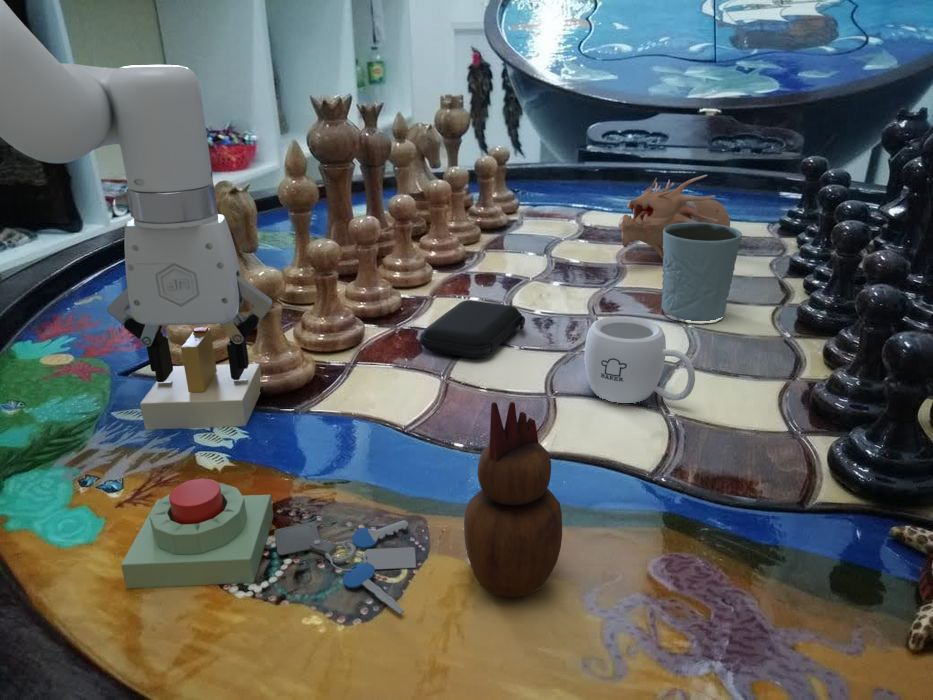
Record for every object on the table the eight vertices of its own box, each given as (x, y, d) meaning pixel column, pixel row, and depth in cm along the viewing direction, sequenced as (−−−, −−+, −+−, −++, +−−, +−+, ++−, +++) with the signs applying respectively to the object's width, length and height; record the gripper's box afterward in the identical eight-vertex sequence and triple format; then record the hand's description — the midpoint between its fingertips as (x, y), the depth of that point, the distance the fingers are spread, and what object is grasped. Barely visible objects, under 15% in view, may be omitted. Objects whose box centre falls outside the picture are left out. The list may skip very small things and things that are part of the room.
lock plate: (144, 430, 73) (139, 402, 72) (172, 390, 82) (167, 364, 80) (246, 426, 74) (242, 398, 73) (263, 387, 82) (259, 361, 81)
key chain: (257, 547, 56) (256, 538, 56) (331, 495, 63) (331, 487, 62) (400, 621, 49) (399, 611, 49) (468, 554, 55) (467, 545, 55)
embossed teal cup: (733, 308, 106) (745, 226, 101) (724, 331, 97) (737, 243, 92) (662, 298, 109) (671, 219, 105) (648, 320, 101) (656, 235, 96)
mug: (568, 399, 79) (572, 331, 76) (601, 371, 86) (605, 308, 83) (677, 428, 73) (686, 356, 70) (703, 396, 80) (712, 329, 77)
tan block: (204, 392, 74) (196, 344, 72) (188, 392, 74) (180, 345, 72) (217, 371, 79) (210, 326, 77) (202, 371, 79) (194, 326, 77)
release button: (166, 527, 53) (162, 507, 52) (180, 498, 56) (177, 479, 56) (216, 525, 53) (213, 505, 52) (228, 496, 56) (225, 477, 56)
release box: (126, 589, 52) (115, 543, 51) (161, 521, 60) (153, 479, 58) (254, 583, 53) (247, 538, 51) (273, 516, 60) (268, 475, 58)
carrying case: (493, 367, 87) (533, 326, 99) (493, 343, 86) (534, 305, 98) (413, 353, 91) (462, 315, 103) (413, 330, 90) (462, 294, 102)
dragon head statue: (737, 175, 130) (696, 167, 110) (738, 260, 132) (698, 268, 112) (664, 183, 138) (613, 177, 117) (666, 263, 140) (616, 271, 119)
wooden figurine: (478, 618, 49) (479, 423, 43) (455, 564, 54) (453, 382, 49) (571, 598, 51) (583, 407, 45) (540, 547, 56) (548, 370, 50)
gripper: (62, 215, 65) (102, 394, 72) (260, 212, 66) (280, 389, 73) (96, 198, 72) (129, 363, 79) (274, 195, 73) (292, 358, 80)
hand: (201, 374), depth 76 cm, fingers open, 6 cm apart
